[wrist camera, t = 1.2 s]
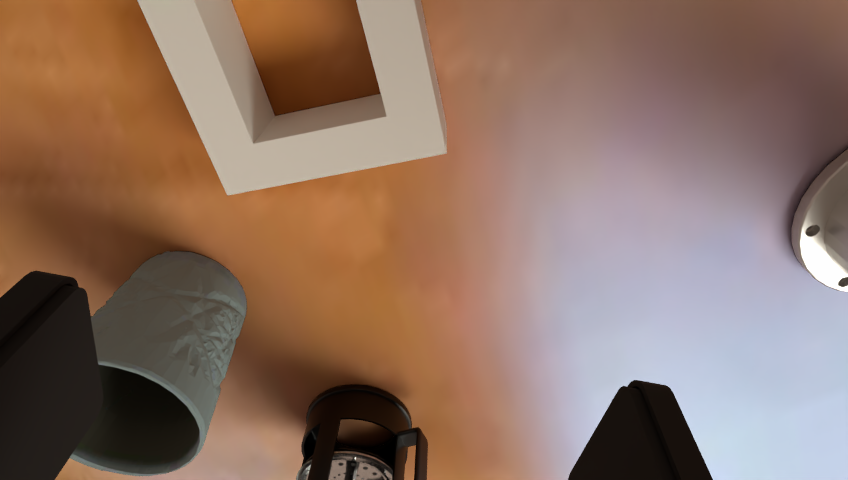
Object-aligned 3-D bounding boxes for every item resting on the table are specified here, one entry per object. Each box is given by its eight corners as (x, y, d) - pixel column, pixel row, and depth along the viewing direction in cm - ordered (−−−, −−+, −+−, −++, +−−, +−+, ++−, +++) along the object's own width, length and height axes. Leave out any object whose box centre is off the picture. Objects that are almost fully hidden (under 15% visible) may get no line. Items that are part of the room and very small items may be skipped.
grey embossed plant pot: (98, 268, 40) (-19, 393, 30) (206, 219, 38) (118, 337, 28) (185, 359, 45) (109, 493, 35) (286, 321, 42) (236, 454, 32)
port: (395, -123, 27) (386, -128, 22) (446, 124, 33) (446, 157, 29) (157, -59, 29) (106, -52, 24) (250, 163, 35) (223, 200, 31)
